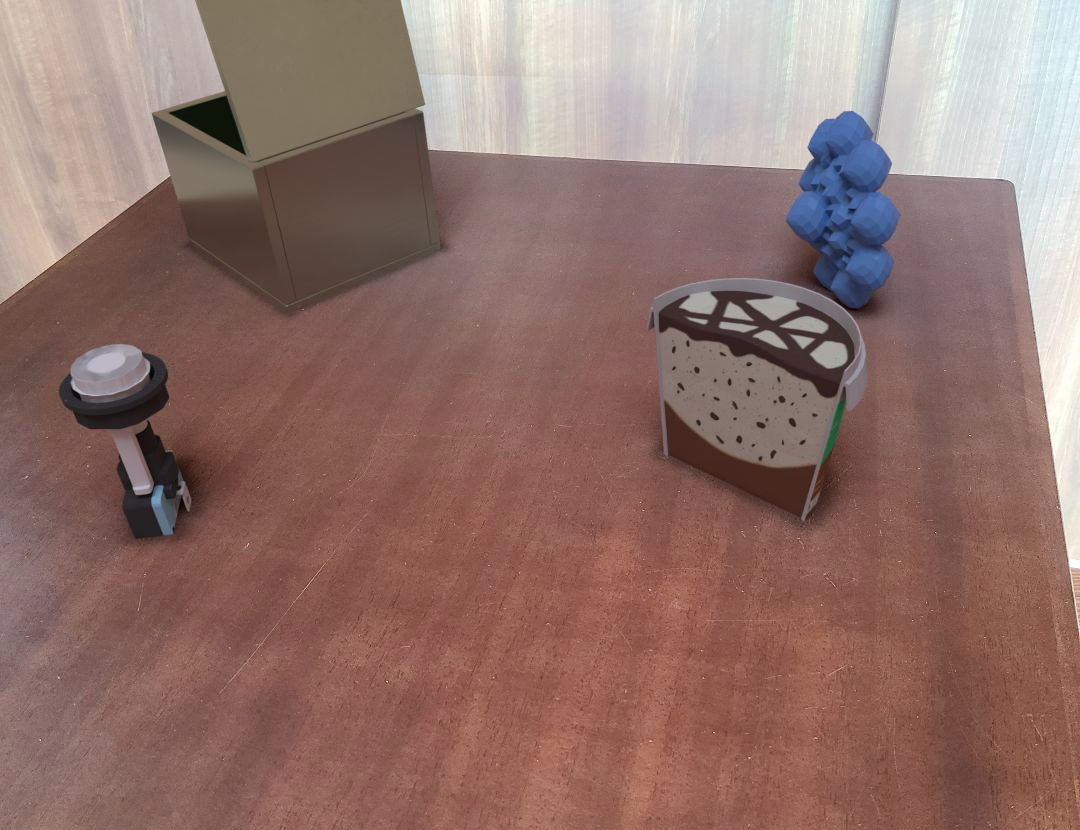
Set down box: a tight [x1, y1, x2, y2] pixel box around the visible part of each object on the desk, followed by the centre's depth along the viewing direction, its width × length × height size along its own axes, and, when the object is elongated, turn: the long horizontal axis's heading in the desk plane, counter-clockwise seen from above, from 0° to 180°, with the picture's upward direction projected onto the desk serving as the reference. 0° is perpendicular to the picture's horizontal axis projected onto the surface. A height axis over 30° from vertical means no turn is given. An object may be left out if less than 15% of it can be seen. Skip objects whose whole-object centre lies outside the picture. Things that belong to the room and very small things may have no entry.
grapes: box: [785, 110, 901, 309], centre depth 69 cm, size 12×7×12 cm, turn 12°
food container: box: [645, 277, 868, 522], centre depth 56 cm, size 12×6×10 cm, turn 47°
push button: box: [58, 343, 193, 540], centre depth 56 cm, size 7×5×10 cm
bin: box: [151, 90, 442, 314], centre depth 79 cm, size 16×14×11 cm
